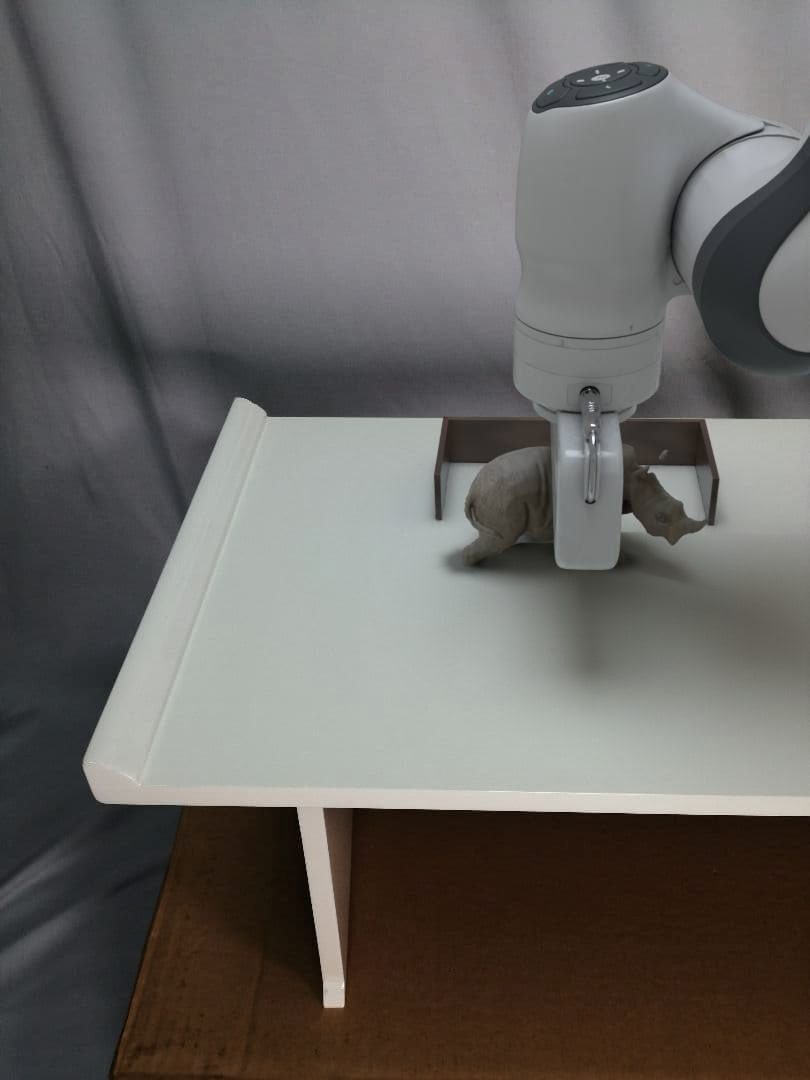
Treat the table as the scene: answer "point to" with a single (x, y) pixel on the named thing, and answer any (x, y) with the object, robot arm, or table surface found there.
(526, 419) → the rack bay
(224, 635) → the table surface
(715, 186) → the robot arm
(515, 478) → the rhinoceros figurine
